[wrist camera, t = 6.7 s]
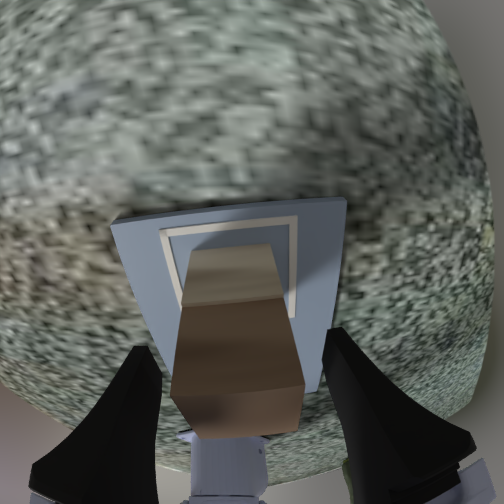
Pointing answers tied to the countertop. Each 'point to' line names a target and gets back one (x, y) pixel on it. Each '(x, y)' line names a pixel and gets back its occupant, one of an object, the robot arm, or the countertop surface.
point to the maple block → (231, 276)
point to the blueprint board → (239, 234)
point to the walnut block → (238, 370)
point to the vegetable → (348, 478)
